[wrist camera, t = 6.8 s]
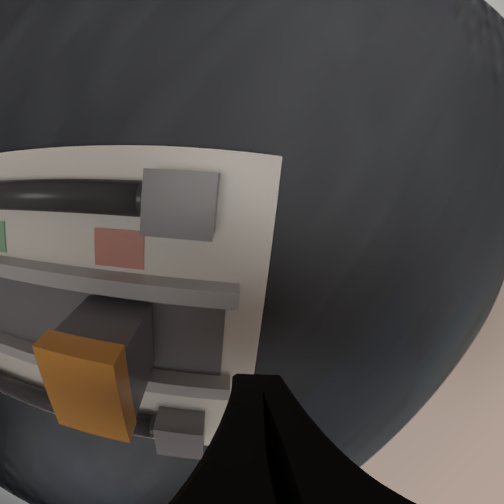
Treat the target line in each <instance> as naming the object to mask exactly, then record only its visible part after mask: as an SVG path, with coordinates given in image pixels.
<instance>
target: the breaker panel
mask: <svg viewBox="0 0 504 504" xmlns="http://www.w3.org/2000/svg"><path fill="white" fill-rule="evenodd" d="M281 165H282V156H276V155H268V154H260V153H251V152H241V151H231V150H220V149H207V148H193V147H174V146H143V145H101V146H72V147H54V148H41V149H29V150H20V151H11V152H3V153H0V392H2V393H4V394H6V395H9V396H11V397H13V398H15V399H18V400H20V401H22V402H25V403H27V404H30V405H32V406H35V407H37V408H40V409H43V410H45V411H48V412H51V413H54V414H55V412H54V410H53V408H52V405H51V402H50V400H49V397H48V394H47V392H46V389H45V386H44V383H43V380H42V377H41V374H40V371H39V368H38V365H37V361H36V358H35V354H34V351H33V347H32V345H33V344H34V343H35V342H36V341H37V340H38V339H39V338H40V337H41V336H42V335H43V334H44V333H45V332H46V331H47V330H48V329H50V330H55V329H56V328H57V327H58V326H59V325H60V324H61V323H62V322H63V321H64V320H65V319H66V318H67V317H68V316H69V315H70V314H71V313H72V312H73V311H74V310H75V309H76V308H77V307H78V306H79V305H80V304H81V303H82V302H83V301H84V300H85V299H86V298H87V297H88V296H89V295H93V296H100V297H106V298H113V299H121V300H128V301H136V302H143V303H151V304H152V333H153V351H154V367H153V370H152V372H151V375H150V378H149V381H148V384H147V387H146V390H145V393H144V396H143V398H142V401H141V404H140V407H139V410H138V413H137V417H136V421H137V423H136V426H135V429H134V432H133V435H136V436H141V437H147V438H152V439H155V445H156V450H157V454H160V455H166V456H173V457H181V458H190V459H200V460H201V458H202V456H203V455H204V445H209V444H210V442H211V440H212V438H213V436H214V434H215V432H216V430H217V428H218V426H219V424H220V421H221V419H222V416H223V414H224V411H225V409H226V406H227V403H228V400H229V397H230V393H231V388H232V377H233V376H234V375H235V374H237V373H238V374H254V371H255V364H256V357H257V350H258V343H259V336H260V329H261V322H262V315H263V308H264V300H265V293H266V285H267V278H268V270H269V263H270V255H271V247H272V239H273V231H274V223H275V215H276V207H277V199H278V190H279V182H280V173H281Z"/></svg>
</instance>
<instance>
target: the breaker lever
mask: <svg viewBox="0 0 504 504" xmlns="http://www.w3.org/2000/svg"><path fill="white" fill-rule="evenodd" d="M32 347H33V351H34V354H35V358H36V361H37V365H38V368H39V371H40V374H41V377H42V380H43V383H44V386H45V389H46V392H47V394H48V397H49V400H50V402H51V405H52V408H53V410H54V412H55V415H56V417H57V420H58V422H59V424H62V425H64V426H68V427H71V428H74V429H77V430H80V431H84V432H87V433H91V434H94V435H98V436H102V437H106V438H110V439H114V440H118V441H122V442H127V443H130V442H131V439H132V436H133V432H134V429H135V426H136V423H137V421H136V417H137V413H138V410H139V407H140V404H141V401H142V398H143V396H144V393H145V390H146V387H147V384H148V381H149V378H150V375H151V372H152V370H153V367H154V351H153V333H152V304H151V303H143V302H136V301H128V300H121V299H113V298H106V297H100V296H93V295H89V296H88V297H87V298H86V299H85V300H84V301H83V302H82V303H81V304H80V305H79V306H78V307H77V308H76V309H75V310H74V311H73V312H72V313H71V314H70V315H69V316H68V317H67V318H66V319H65V320H64V321H63V322H62V323H61V324H60V325H59V326H58V327H57V328H56V329H55V330H50V329H48V330H47V331H46V332H45V333H44V334H43V335H42V336H41V337H40V338H39V339H38V340H37V341H36V342H35V343H34V344H33V345H32Z"/></svg>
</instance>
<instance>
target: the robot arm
mask: <svg viewBox="0 0 504 504" xmlns="http://www.w3.org/2000/svg"><path fill="white" fill-rule="evenodd" d="M169 504H416V503H414V502H412V501H410V500H408V499H406V498H404V497H403V496H401V495H399V494H398V493H396V492H394V491H393V490H391V489H389V488H388V487H386V486H384V485H383V484H381V483H380V482H378V481H377V480H375V479H374V478H372V477H371V476H369V474H367V473H366V472H364V471H363V470H362V469H361V468H360V467H358V466H357V465H356V464H355V463H354V462H352V461H351V460H350V459H349V458H348V457H347V456H346V455H345V454H344V453H343V452H341V451H340V450H339V449H338V448H337V447H336V446H335V445H334V444H333V442H332V441H331V440H330V439H329V438H328V437H327V436H326V435H325V434H324V433H323V432H322V431H321V430H320V428H319V427H318V426H317V425H316V424H315V422H314V421H313V420H312V419H311V418H310V416H309V415H308V414H307V413H306V411H305V410H304V409H303V407H302V406H301V405H300V403H299V402H298V401H297V399H296V398H295V397H294V395H293V394H292V392H291V391H290V389H289V388H288V386H287V385H286V383H285V382H284V380H283V379H282V378H281V376H280V375H259V374H238V373H237V374H235V375H234V376H233V377H232V388H231V393H230V397H229V400H228V403H227V406H226V409H225V411H224V414H223V416H222V419H221V421H220V424H219V426H218V428H217V430H216V432H215V434H214V436H213V438H212V440H211V442H210V444H209V446H208V448H207V449H206V451H205V453H204V455H203V456H202V458H201V460H200V461H199V463H198V464H197V466H196V468H195V469H194V471H193V472H192V474H191V475H190V476H189V478H188V479H187V481H186V482H185V483H184V485H183V486H182V487H181V489H180V490H179V491H178V492H177V494H176V495H175V496H174V498H173V499H172V500H171V501H170V502H169Z"/></svg>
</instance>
